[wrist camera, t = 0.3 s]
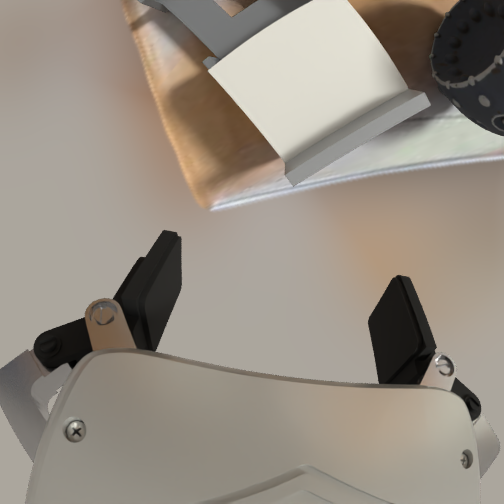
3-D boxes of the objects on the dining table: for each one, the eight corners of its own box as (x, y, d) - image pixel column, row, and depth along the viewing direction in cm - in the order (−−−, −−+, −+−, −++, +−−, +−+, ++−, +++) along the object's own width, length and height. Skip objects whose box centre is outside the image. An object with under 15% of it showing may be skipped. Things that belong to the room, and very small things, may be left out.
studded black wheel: (407, 86, 29) (495, 109, 13) (445, -9, 18) (528, -29, 2) (459, 124, 30) (546, 174, 14) (494, 33, 19) (581, 43, 3)
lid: (335, -9, 18) (343, -23, 14) (411, 99, 24) (431, 105, 20) (209, 71, 26) (196, 70, 22) (292, 170, 32) (293, 186, 28)
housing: (254, -60, 19) (246, -82, 12) (389, 93, 31) (411, 99, 24) (159, 7, 26) (134, -3, 20) (291, 152, 38) (292, 169, 32)
